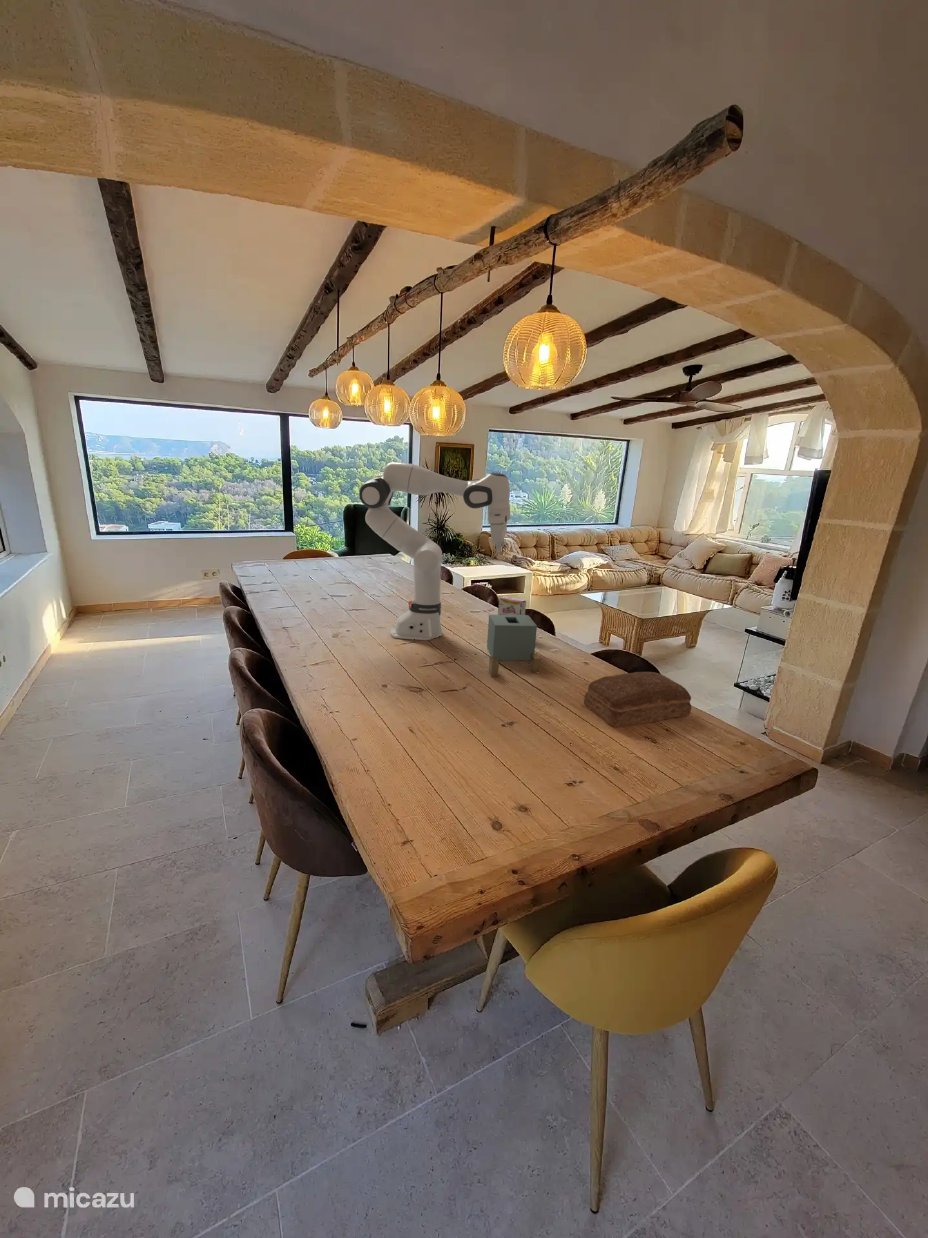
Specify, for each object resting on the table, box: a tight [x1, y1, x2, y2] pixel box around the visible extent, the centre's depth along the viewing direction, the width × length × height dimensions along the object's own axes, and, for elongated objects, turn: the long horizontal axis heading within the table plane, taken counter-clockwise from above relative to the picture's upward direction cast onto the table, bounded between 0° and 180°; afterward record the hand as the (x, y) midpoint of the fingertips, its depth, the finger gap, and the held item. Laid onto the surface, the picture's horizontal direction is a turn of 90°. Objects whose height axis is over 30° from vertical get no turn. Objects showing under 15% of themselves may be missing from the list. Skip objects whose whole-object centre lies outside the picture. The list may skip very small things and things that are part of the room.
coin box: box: [486, 614, 538, 661], centre depth 192 cm, size 16×14×14 cm
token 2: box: [529, 652, 542, 673], centre depth 178 cm, size 2×6×6 cm, turn 6°
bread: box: [583, 671, 692, 728], centre depth 150 cm, size 17×29×11 cm, turn 110°
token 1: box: [488, 656, 500, 678], centre depth 173 cm, size 2×6×6 cm, turn 6°
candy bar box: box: [497, 595, 527, 615], centre depth 215 cm, size 11×5×16 cm, turn 58°
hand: (500, 549), depth 199 cm, fingers open, 8 cm apart
